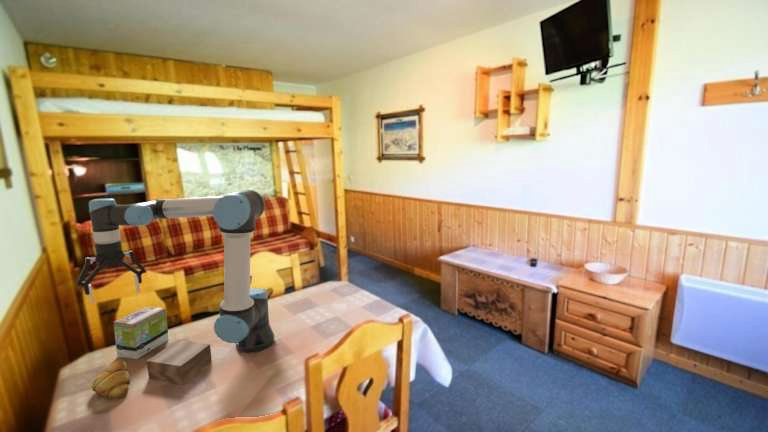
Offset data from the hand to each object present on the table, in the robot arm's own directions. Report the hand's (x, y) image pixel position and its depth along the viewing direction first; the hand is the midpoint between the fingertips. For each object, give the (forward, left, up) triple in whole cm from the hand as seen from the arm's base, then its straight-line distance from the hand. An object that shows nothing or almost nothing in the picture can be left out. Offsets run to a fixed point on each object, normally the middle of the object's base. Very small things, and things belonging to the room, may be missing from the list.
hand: (116, 296), depth 128 cm
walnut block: (-27, +1, -25) cm, 37 cm away
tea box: (-1, -8, -26) cm, 27 cm away
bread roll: (-14, +16, -26) cm, 33 cm away
